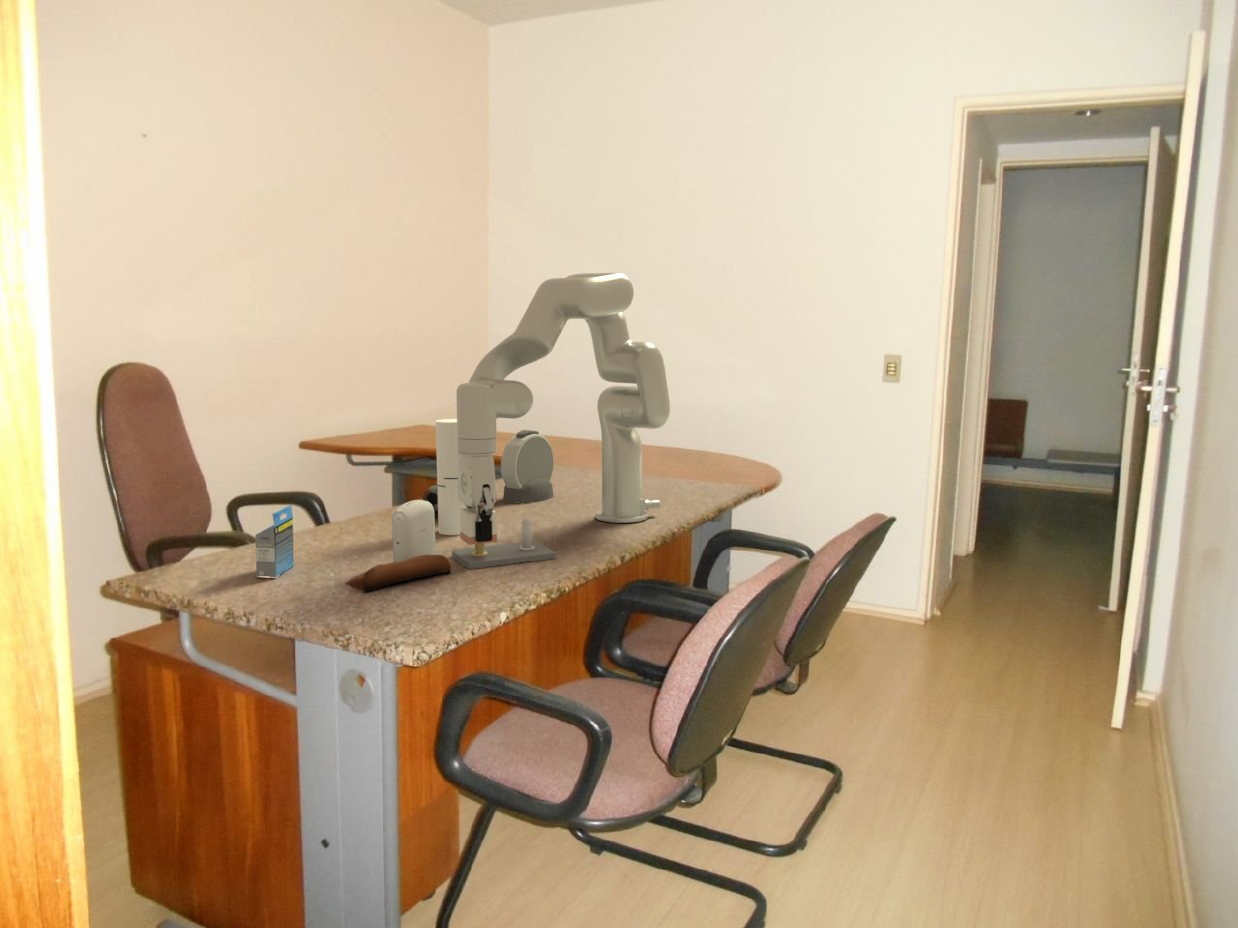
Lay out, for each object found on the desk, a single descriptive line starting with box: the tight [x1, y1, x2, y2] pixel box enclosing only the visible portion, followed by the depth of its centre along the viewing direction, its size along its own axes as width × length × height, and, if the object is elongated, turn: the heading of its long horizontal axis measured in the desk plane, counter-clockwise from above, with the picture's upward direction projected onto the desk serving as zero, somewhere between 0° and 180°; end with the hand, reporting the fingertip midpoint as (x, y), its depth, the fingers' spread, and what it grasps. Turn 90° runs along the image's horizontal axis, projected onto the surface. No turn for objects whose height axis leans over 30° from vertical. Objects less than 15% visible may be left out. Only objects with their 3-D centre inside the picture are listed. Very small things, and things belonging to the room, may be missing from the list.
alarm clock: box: [500, 429, 555, 504], centre depth 244 cm, size 16×10×18 cm, turn 144°
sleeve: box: [459, 508, 498, 546], centre depth 181 cm, size 6×6×6 cm
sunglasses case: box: [344, 554, 452, 594], centre depth 169 cm, size 18×7×7 cm
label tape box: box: [254, 504, 295, 577], centre depth 173 cm, size 9×4×12 cm, turn 178°
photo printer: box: [391, 499, 437, 562], centre depth 179 cm, size 10×4×12 cm, turn 158°
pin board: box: [451, 517, 557, 570], centre depth 184 cm, size 18×11×8 cm, turn 117°
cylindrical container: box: [435, 418, 465, 536], centre depth 205 cm, size 7×7×25 cm
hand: (478, 536), depth 182 cm, fingers closed on sleeve, 5 cm apart
